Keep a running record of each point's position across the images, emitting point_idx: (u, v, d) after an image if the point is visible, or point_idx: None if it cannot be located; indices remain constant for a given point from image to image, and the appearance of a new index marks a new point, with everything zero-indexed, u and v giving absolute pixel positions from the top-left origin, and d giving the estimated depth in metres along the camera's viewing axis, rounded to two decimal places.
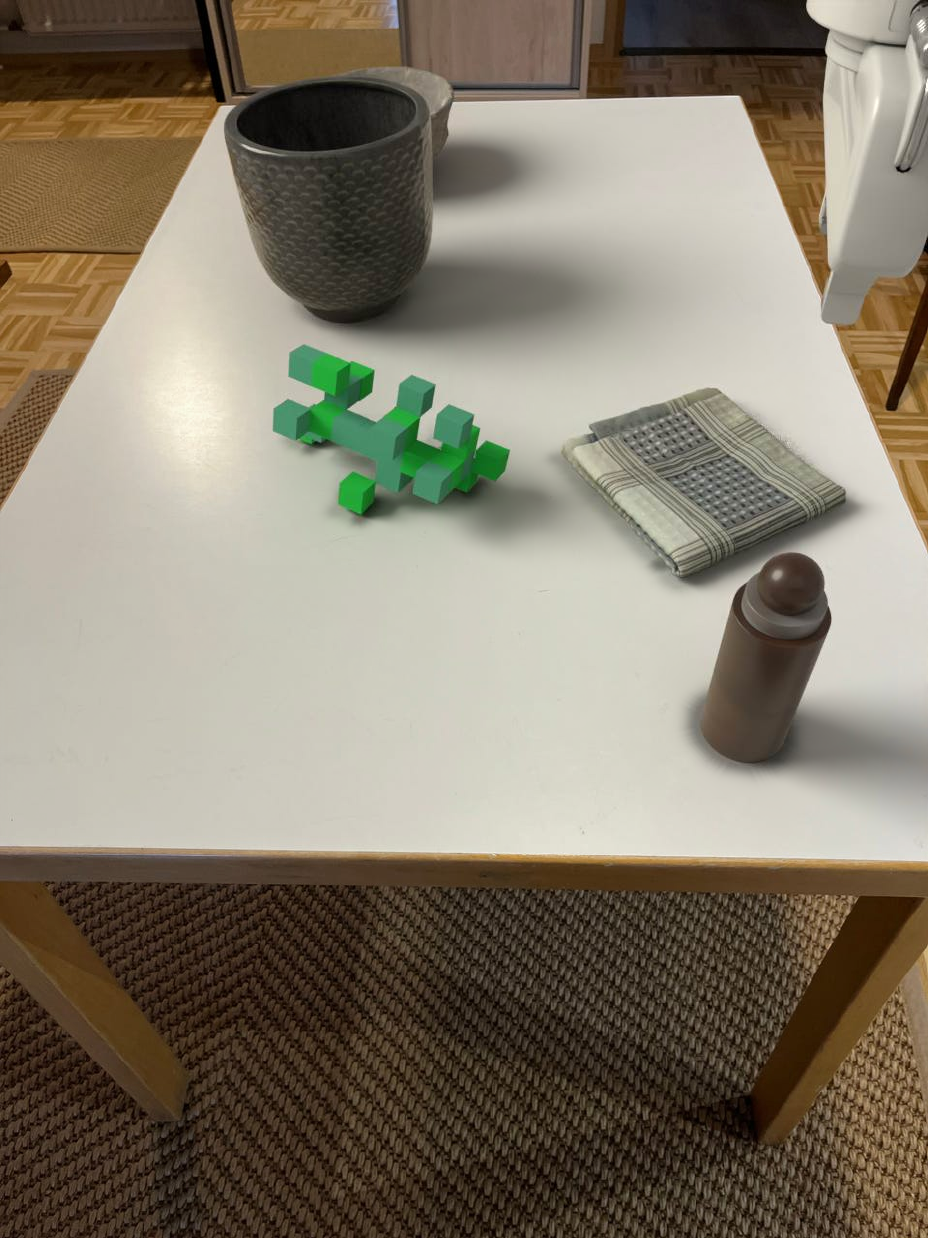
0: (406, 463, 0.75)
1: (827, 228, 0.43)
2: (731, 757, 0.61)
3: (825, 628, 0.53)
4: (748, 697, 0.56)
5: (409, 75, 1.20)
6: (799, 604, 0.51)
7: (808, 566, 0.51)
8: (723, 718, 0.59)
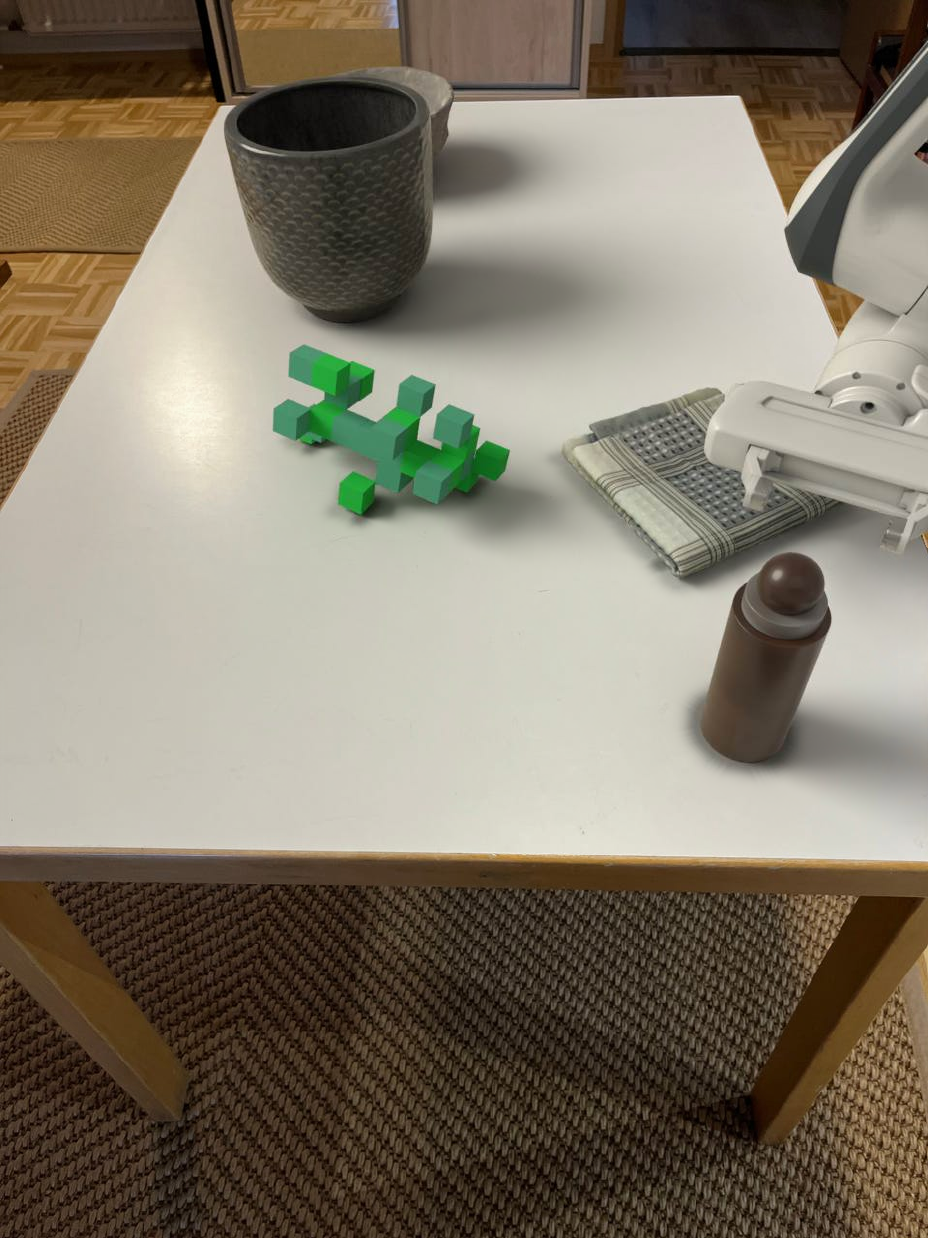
0: (406, 463, 0.75)
1: None
2: (731, 757, 0.61)
3: (825, 628, 0.53)
4: (748, 697, 0.56)
5: (409, 75, 1.20)
6: (799, 604, 0.51)
7: (808, 566, 0.51)
8: (723, 718, 0.59)
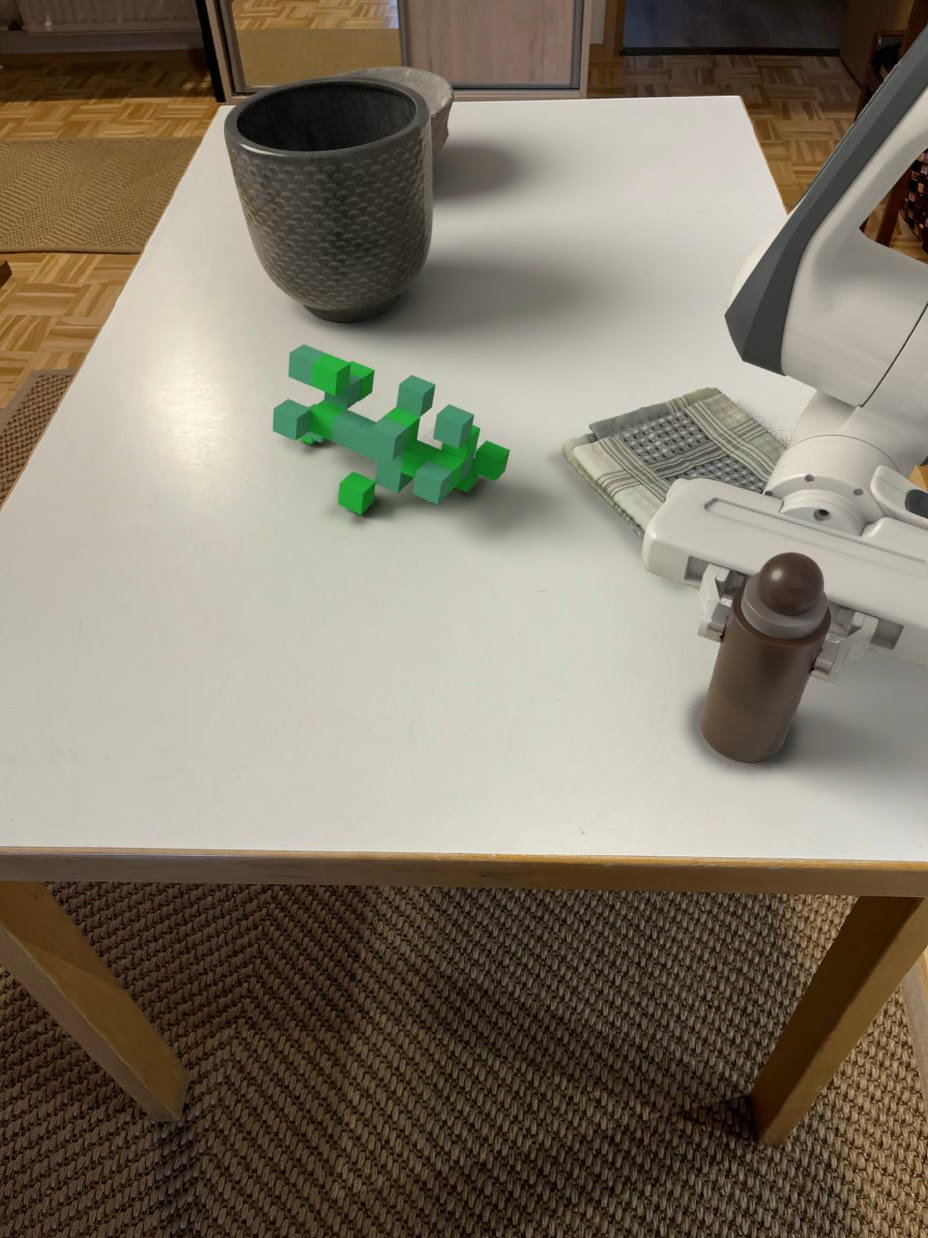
0: (406, 463, 0.75)
1: None
2: (731, 757, 0.61)
3: (825, 628, 0.53)
4: (748, 697, 0.56)
5: (409, 75, 1.20)
6: (799, 604, 0.51)
7: (808, 566, 0.51)
8: (723, 718, 0.59)
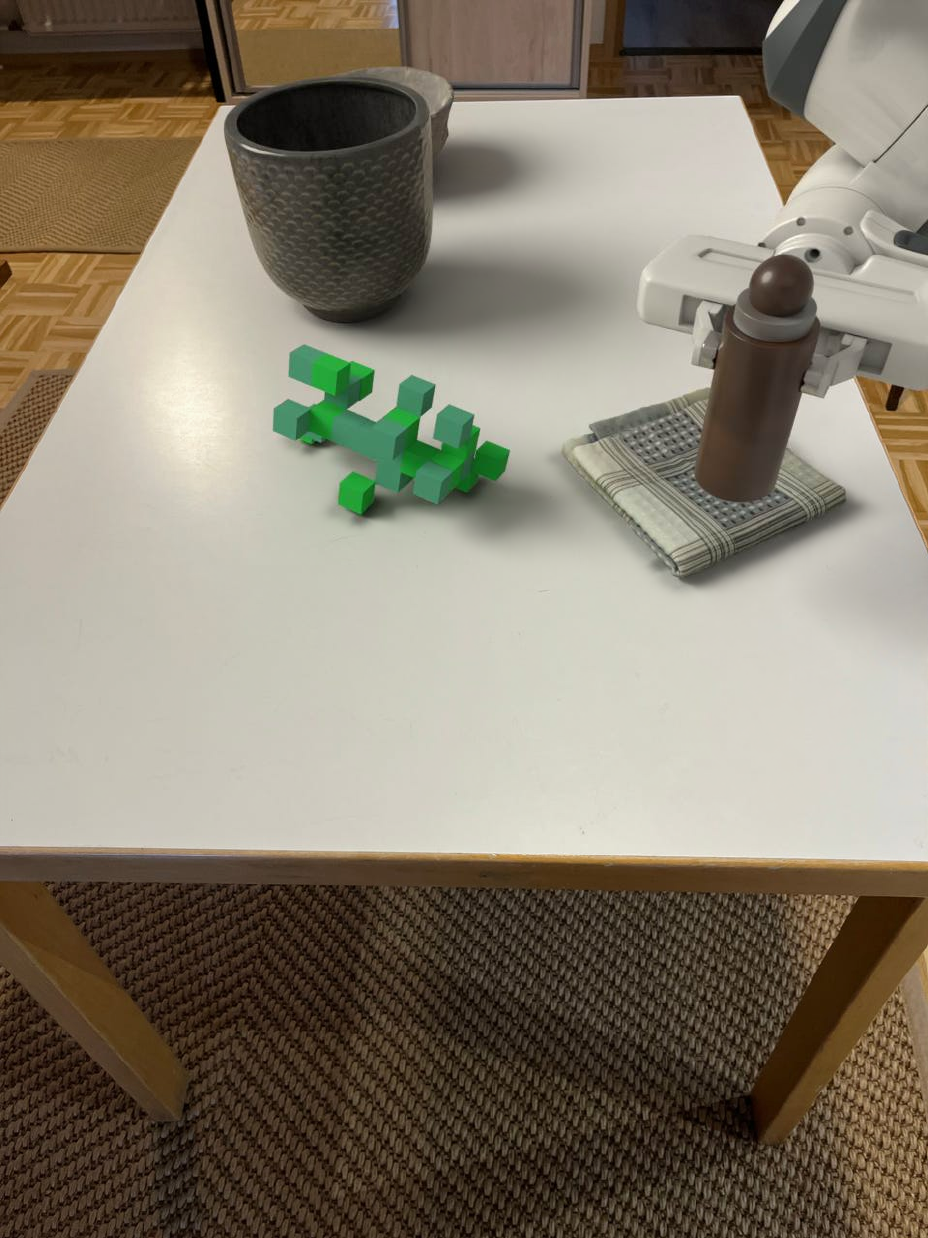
0: (406, 463, 0.75)
1: None
2: (723, 497, 0.63)
3: (814, 333, 0.54)
4: (740, 418, 0.58)
5: (409, 75, 1.20)
6: (789, 300, 0.52)
7: (798, 261, 0.52)
8: (715, 452, 0.61)
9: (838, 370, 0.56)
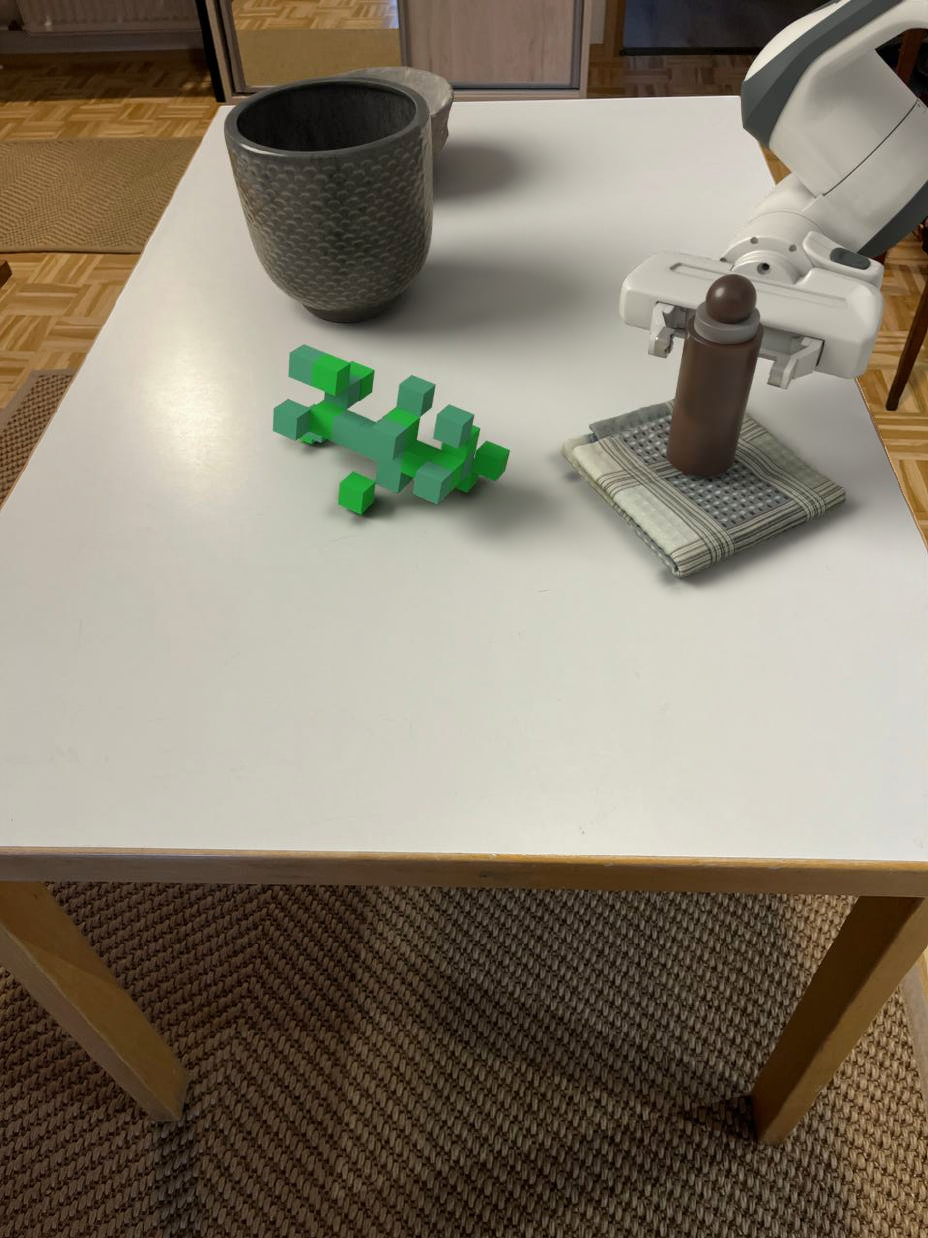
0: (406, 463, 0.75)
1: None
2: (689, 473, 0.76)
3: (758, 337, 0.67)
4: (700, 406, 0.71)
5: (409, 75, 1.20)
6: (736, 310, 0.65)
7: (743, 280, 0.65)
8: (682, 434, 0.74)
9: (798, 366, 0.69)
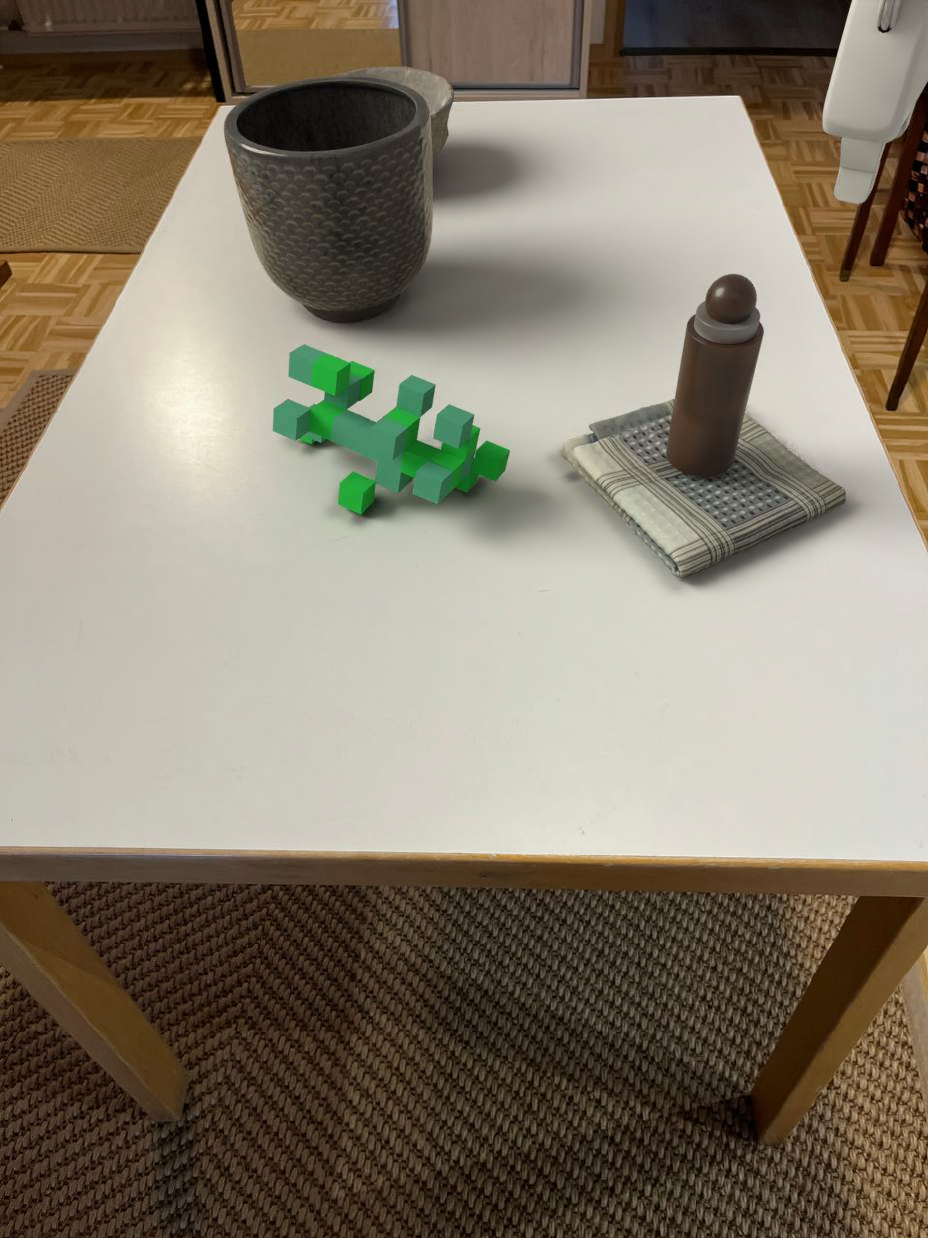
0: (406, 463, 0.75)
1: None
2: (689, 473, 0.76)
3: (758, 337, 0.67)
4: (700, 406, 0.71)
5: (409, 75, 1.20)
6: (736, 310, 0.65)
7: (743, 280, 0.65)
8: (682, 434, 0.74)
9: None
